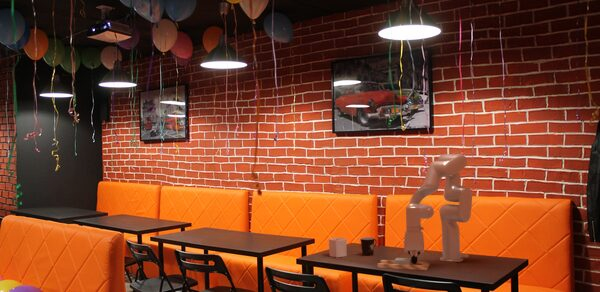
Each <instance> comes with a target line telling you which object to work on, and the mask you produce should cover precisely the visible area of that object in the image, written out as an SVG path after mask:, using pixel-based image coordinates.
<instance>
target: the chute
mask: <svg viewBox="0 0 600 292" xmlns="http://www.w3.org/2000/svg"><path fill="white" fill-rule="evenodd" d="M376 264H377V269H378V268H379V269H380V268H381V269H394V270H395V269H396V270H397V269H398V270H414V271H417V270H418V271H428V270H429V267H430V262H429V261H417V262H416V264H413V262H411V265H404V264H395V259H394V260H393V259H392V260H389V259H388V260H387V259H381V260H380V263H376Z"/></svg>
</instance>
